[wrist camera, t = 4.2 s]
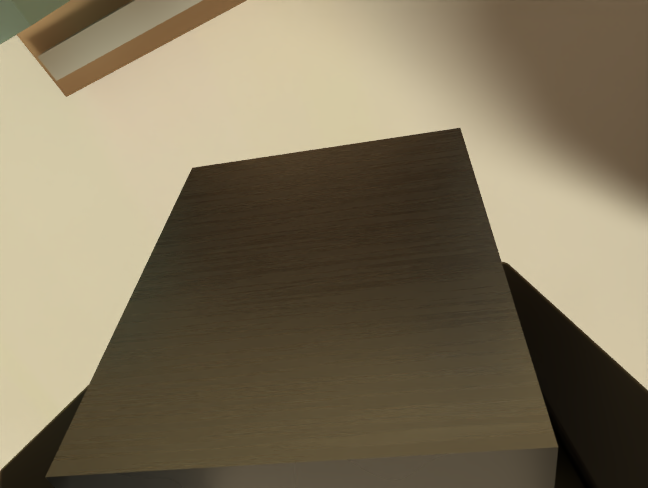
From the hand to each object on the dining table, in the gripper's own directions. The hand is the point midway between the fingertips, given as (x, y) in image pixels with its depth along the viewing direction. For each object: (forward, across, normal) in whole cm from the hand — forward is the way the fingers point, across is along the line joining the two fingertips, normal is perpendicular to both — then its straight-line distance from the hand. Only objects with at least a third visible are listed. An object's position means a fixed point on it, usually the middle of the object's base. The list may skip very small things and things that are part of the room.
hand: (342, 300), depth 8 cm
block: (+1, 0, 0) cm, 1 cm away
